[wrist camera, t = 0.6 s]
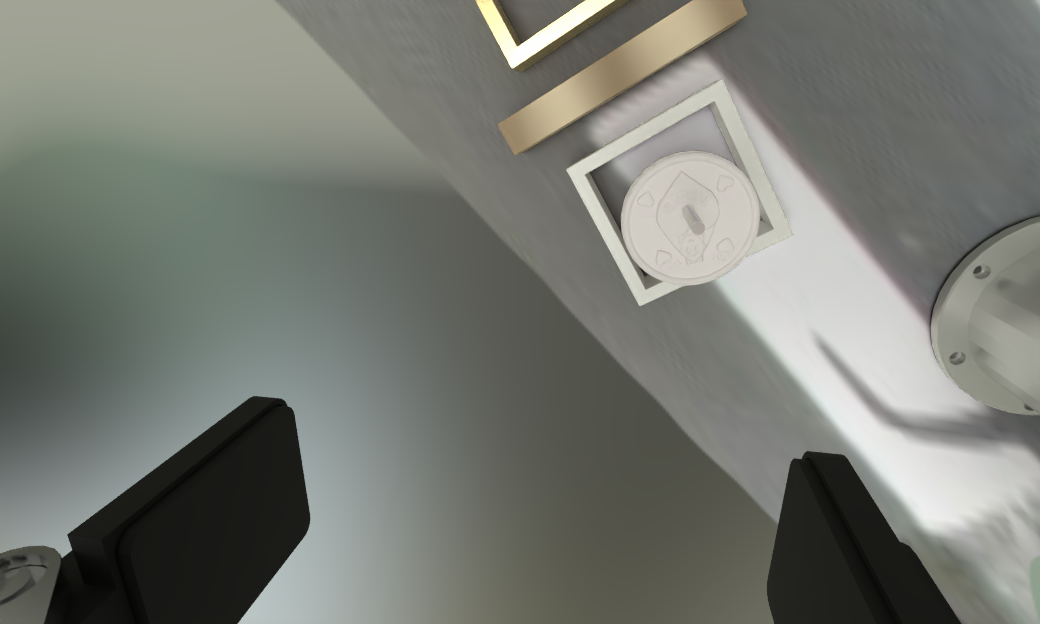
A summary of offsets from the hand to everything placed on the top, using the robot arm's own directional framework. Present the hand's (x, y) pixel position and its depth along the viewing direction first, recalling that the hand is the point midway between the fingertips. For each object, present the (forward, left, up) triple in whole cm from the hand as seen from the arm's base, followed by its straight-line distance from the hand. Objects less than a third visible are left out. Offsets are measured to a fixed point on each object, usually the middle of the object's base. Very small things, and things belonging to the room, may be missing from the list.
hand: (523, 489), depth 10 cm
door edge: (-5, -7, -28) cm, 30 cm away
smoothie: (-5, +1, -28) cm, 29 cm away
